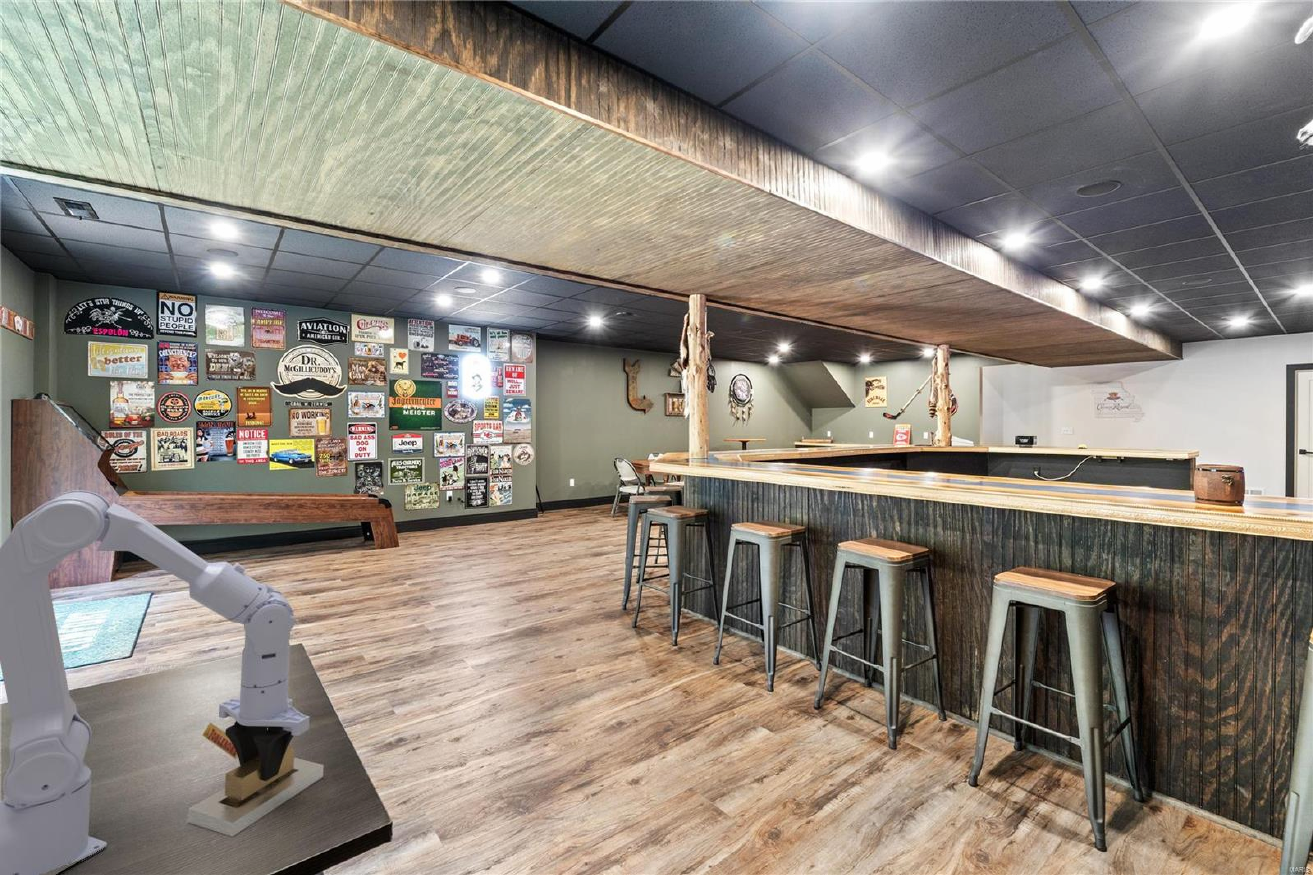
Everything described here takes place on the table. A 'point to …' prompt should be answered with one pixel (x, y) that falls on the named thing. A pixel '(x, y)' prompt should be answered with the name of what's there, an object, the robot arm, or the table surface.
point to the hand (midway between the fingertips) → (260, 774)
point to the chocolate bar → (220, 739)
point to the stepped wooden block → (253, 779)
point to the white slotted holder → (253, 801)
